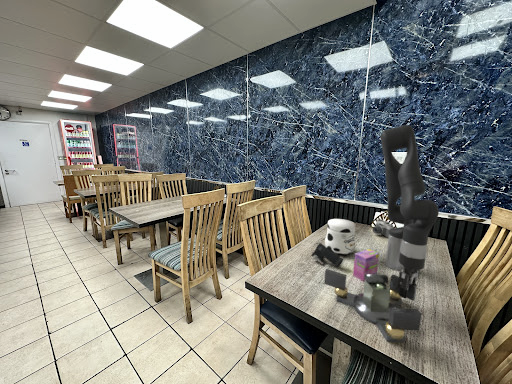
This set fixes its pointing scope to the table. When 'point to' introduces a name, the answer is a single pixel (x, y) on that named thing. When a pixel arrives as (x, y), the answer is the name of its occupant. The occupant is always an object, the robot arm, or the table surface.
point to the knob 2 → (402, 322)
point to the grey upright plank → (336, 282)
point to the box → (365, 263)
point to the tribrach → (374, 302)
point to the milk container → (340, 236)
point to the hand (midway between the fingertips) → (406, 292)
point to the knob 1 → (395, 289)
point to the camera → (382, 227)
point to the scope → (326, 255)
